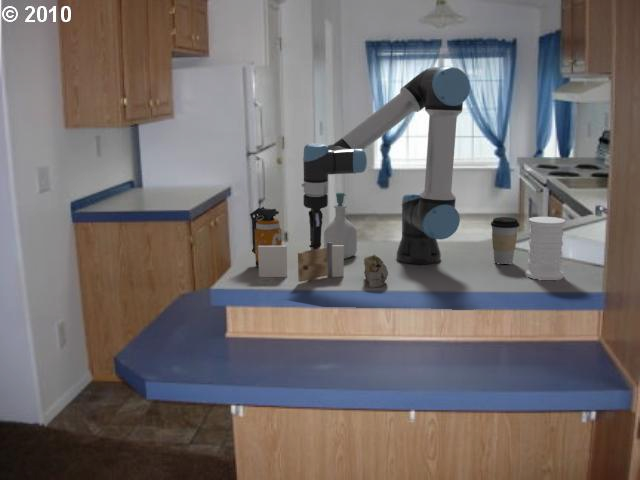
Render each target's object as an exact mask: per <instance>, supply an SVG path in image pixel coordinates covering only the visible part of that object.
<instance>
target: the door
mask: <svg viewBox="0 0 640 480" xmlns="http://www.w3.org/2000/svg"><path fill="white" fill-rule="evenodd" d="M297 269H298V272H297V274H298V277H297V278H298V282H299V283H303V282H306V281H310V280H315V279H319V278H322V277H327V248H326V247H324V246H323V247H320V248H319V249H314V250H311V249H310V250H305V251H301V252H297Z"/></svg>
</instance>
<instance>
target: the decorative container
mask: <svg viewBox="0 0 640 480" xmlns="http://www.w3.org/2000/svg"><path fill="white" fill-rule="evenodd" d="M528 224H529V225H530V229H529V235H530V236H529V241H528V244H529V249H528V255H529V256H528V260H527V263H528V268H527V269H526V270H525V271H524V276H525V275H526V276H528V277H530V278H534V279H541V280H556V281H560V280H562V279H564V272H563V271H562V270H561V267H562V256H563V251H562V247H563V245H564V242H563V236H564V230H563V229H564V228H563V227H565V226H566V219H564V218H560V217H556V216H555V217H553V216H535V217H534V216H533V217H530V218H528ZM526 276H525V277H526ZM528 277H527V278H528ZM530 278H529V279H530ZM534 279H533V280H534ZM541 280H540V281H541Z"/></svg>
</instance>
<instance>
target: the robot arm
mask: <svg viewBox="0 0 640 480" xmlns="http://www.w3.org/2000/svg"><path fill="white" fill-rule="evenodd" d="M470 84H471V83H470V80H469V77H468V76H467V75H466V73H465V72H464V71H463V70H461V69H460V68H458V67H454V66H449V65H447V66H440V67H439V66H438V67H437V66H435V67H433V66H432V67H428V68H426V69H425V70H422V71H421V72H419V74H417V75H416V76H415V77H413V78H412V79H411V80H410V81H409V82H407V83H406V84H405V85H403V86H402V87H401V88H400V90H399V91H400V92H399V93H398V94H397V95H395V96H394V97H393V98H391V99H390V100H389V101H388V102H387V103H385V104H384V105H382V106H381V107H380V108H378V110H376V111H375V112H373V113H372V114H371V115H370V116H368V117H367V118H366V119H364V120H363V121H362V122H360V123H359V124H358V125H356V126H355V127H354V128H353V129H352V130H350V131H349V132H348V133H346V134H345V135H344V136H343V137H341V138H340V139H339V140H337V141H336V142H335V143H333V144H329V145H328V144H326V143H323V142H322V143H321V142H318V143H317V142H310V143H307V144H305V145H304V147H303V156H302V161H303V162H302V163H303V183H301V187H303V193H304V194H303V207H305V208H306V209H310V210H309V211H308V217H309V220H308V221H309V222H308V223H309V235H310V236H309V238H310V239H309V240H310V244H309V245H308V246H309V248H310V250H314V249H319V248H322V247H321V246H322V242H321V241H322V225H323V217H324V216H323V212H322V209H324V208H326V207H328V202H329V199H328V198H329V197H328V194H329V175H345V174H348V175H349V174H354V175H355V174H361V173H364V172H365V171H366V169H367V165H368V163H367V162H368V159H367V154H366V151H365V150H366V149H367V148H368V147H369V146H371V145H372V144H374V143H375V142H376V141H377V140H379V139H380V138H381V137H383V136H384V135H385V134H387V133H388V132H389V131H390V130H392V129H393V128H394V127H396V126H397V125H398V124H400V123H401V122H402V121H403V120H404V119H406V118H408V116H410V115H411V114H413V113H414V112H417V113H418V112H420V111H422V110H423V109H424V110H425V112H426V113H427V114H428V115H429V116H428V132H427V148H426V149H427V150H426V160H425V162H426V163H425V178H424V180H425V181H424V190H423V191H422V192H420V193H408V194H404V195H403V196H402V199H401V200H402V202H401V238H400V242H399V244H398V248H397V251H396V260H397V261H398V262H401V263H404V264H411V265H412V264H414V265H428V264H429V263H430V264H435V263H438V262H440V261H441V260H440V259H441V255H442V254H441V250H440V247H439V243H438V240H445V239H446V240H447V239H448V238H450V237H451V236H453V235H454V234H455V233H456V232H457V230H458V228H459V226H460V222H461V219H460V214H459V211H458V210H457V209H456V196H455V195H454V194H453V192H452V187H453V175H454V162H455V161H454V160H455V159H454V158H455V148H456V132H457V121H458V116H459V115H460V114H462V113H463V107H464V102H465V101H466V100H467V99H468V97H469V95H470V92H471V85H470ZM439 260H440V261H439ZM437 261H438V262H437ZM434 262H435V263H434Z"/></svg>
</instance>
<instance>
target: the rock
mask: <svg viewBox="0 0 640 480" xmlns="http://www.w3.org/2000/svg"><path fill="white" fill-rule="evenodd" d="M363 264H364V278H365V279H366V281H367V282H368V286H369V288H373V289H374V288H379V287H381V286H383V285H384V284H385V282H386V280H387V279H388V276H389V271H388V268H387V266H386V264H385V263H384V261H383V260H382V259H381V258H380V257H379V256H378V255H376V254H373V255H370V256H369V255H368V256H366V257H364V258H363Z"/></svg>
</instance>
